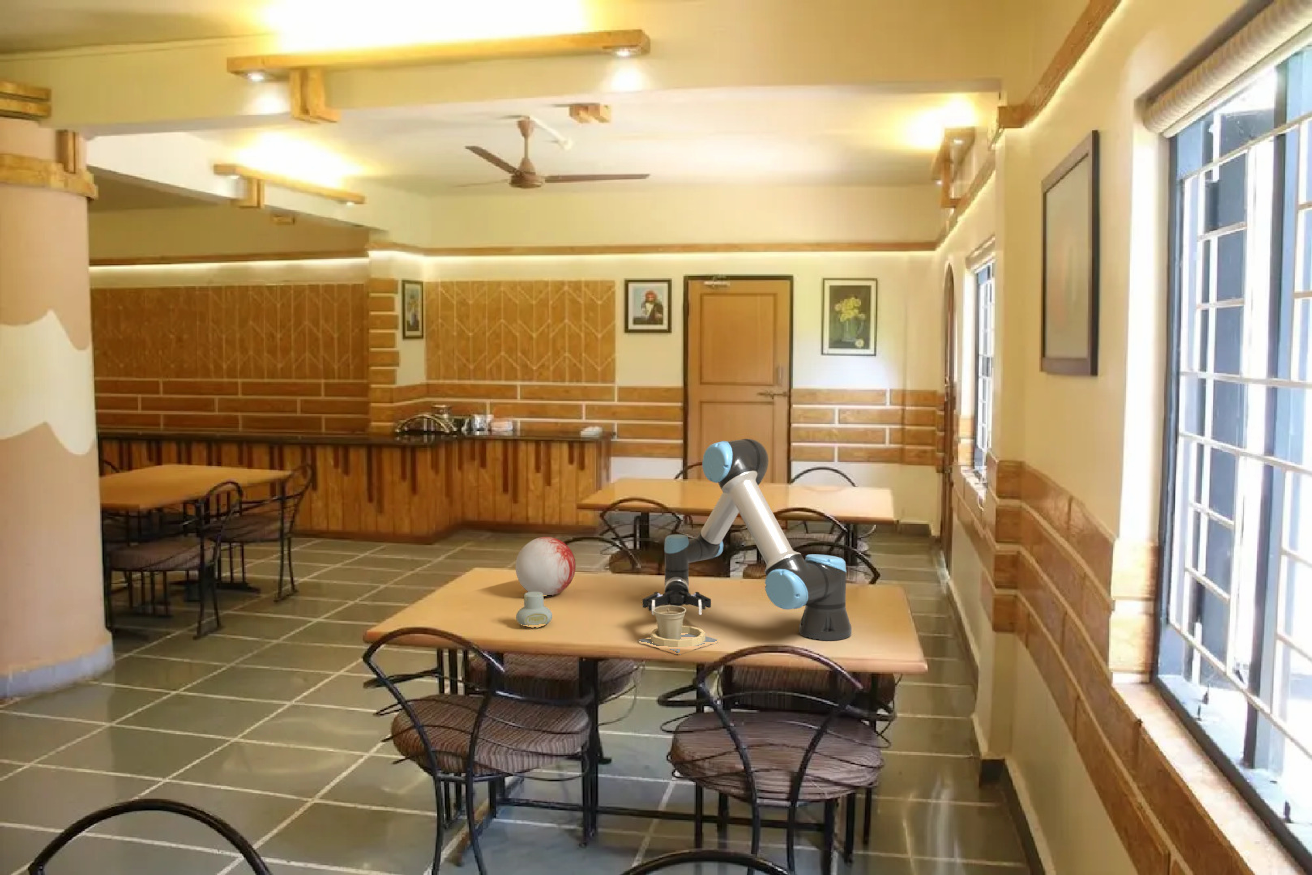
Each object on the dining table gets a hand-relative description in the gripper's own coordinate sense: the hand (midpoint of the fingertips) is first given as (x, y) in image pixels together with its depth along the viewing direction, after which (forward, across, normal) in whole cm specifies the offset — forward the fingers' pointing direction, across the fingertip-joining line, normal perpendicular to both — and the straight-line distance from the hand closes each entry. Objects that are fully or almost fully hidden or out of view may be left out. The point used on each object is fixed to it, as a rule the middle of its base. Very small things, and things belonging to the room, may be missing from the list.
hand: (676, 610), depth 299 cm
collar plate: (+4, 0, -9) cm, 9 cm away
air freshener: (-15, +43, -9) cm, 47 cm away
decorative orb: (-52, +44, -9) cm, 69 cm away
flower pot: (+3, +2, -8) cm, 9 cm away
